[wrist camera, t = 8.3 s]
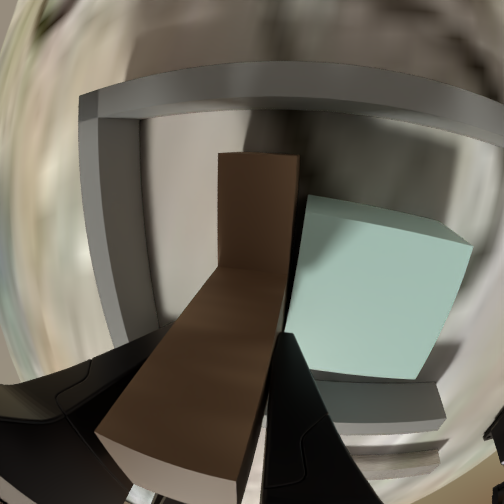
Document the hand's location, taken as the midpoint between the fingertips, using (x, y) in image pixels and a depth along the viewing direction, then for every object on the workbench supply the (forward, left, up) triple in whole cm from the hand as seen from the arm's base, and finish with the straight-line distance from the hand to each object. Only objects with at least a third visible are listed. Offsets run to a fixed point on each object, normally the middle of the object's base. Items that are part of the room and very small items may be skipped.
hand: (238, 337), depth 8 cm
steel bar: (-10, +17, -6) cm, 20 cm away
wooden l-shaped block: (0, 0, -5) cm, 5 cm away
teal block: (-4, 0, -5) cm, 7 cm away
